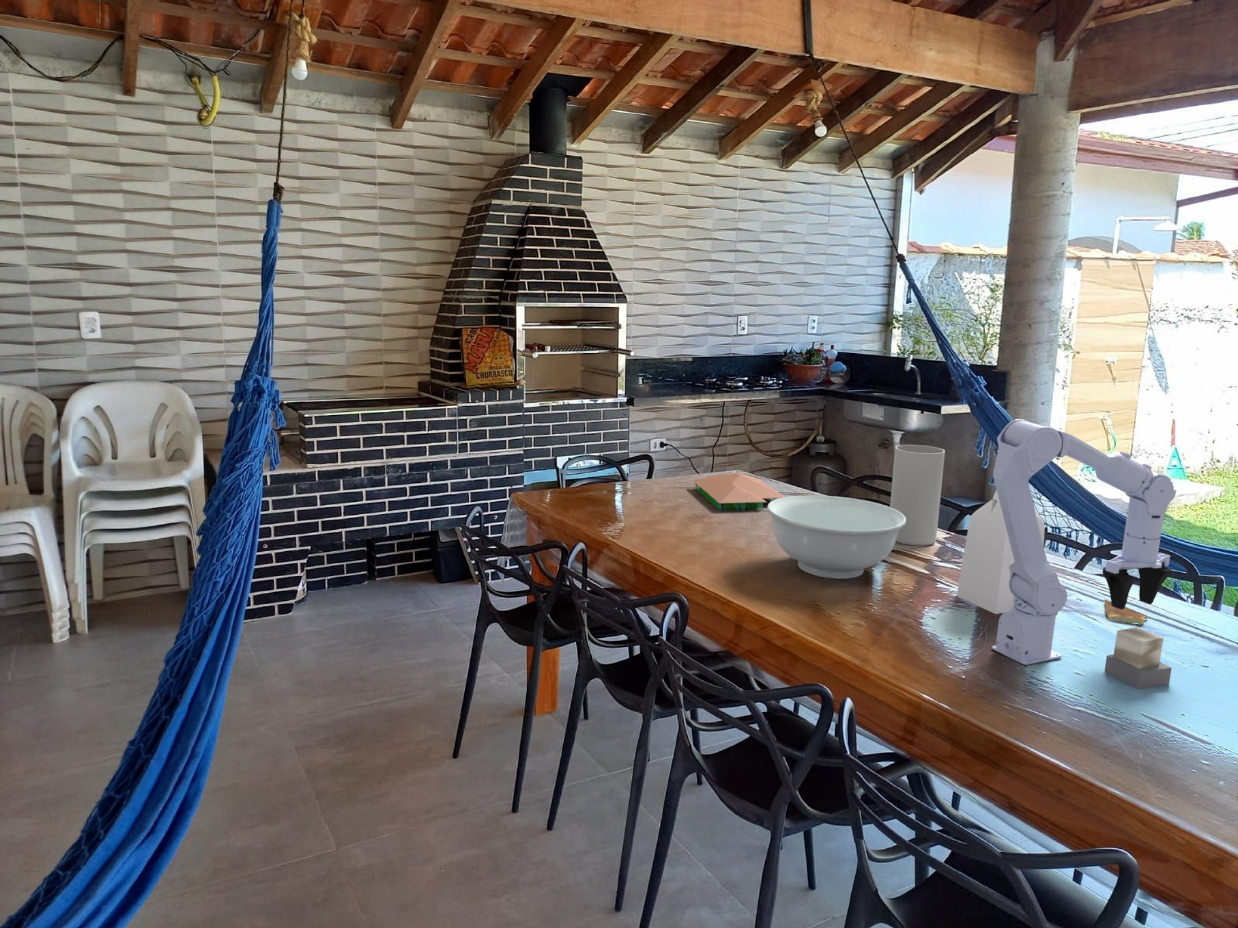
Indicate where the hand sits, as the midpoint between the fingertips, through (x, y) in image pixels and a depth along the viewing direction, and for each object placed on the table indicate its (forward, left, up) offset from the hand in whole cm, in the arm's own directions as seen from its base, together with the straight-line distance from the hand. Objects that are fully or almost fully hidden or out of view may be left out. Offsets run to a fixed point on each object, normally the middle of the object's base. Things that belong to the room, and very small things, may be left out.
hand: (1131, 604), depth 163 cm
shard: (+16, +14, -10) cm, 24 cm away
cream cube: (-9, -8, -6) cm, 14 cm away
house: (-8, +129, -10) cm, 130 cm away
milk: (-2, +29, -10) cm, 31 cm away
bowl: (-23, +60, -10) cm, 65 cm away
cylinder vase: (+13, +73, -10) cm, 75 cm away
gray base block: (-9, -9, -10) cm, 16 cm away
